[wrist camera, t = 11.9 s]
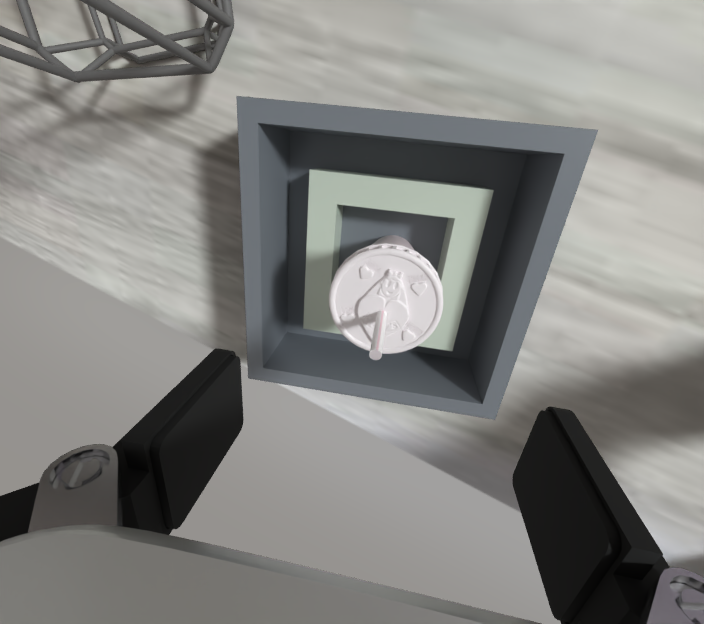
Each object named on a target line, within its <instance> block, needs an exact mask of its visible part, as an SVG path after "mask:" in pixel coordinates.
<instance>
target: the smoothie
mask: <svg viewBox="0 0 704 624" xmlns="http://www.w3.org/2000/svg"><path fill="white" fill-rule="evenodd" d="M329 308H330V312H331V316H332V318H333V321H334V323H335V325H336V326H337V328H338V329H339V331H340V332H341V333H342V334H343V335H344V336H345V337H346V338H347V339H348V340H349V341H350V342H352V343H353V344H355V345H356V346H358V347H360V348H362V349H365V350H368V351H370V353H369V356H370V358H371V359H373V360H379V359H380V358H381V357H382V353H383V354H392V353H399V352H403V351H407V350H410V349H412V348H414V347H416V346H418V345H419V344H421V343H422V342H424V341H425V340H426V339H427V338H428V337H429V336H430V335H431V334H432V333H433V331H434V330H435V329H436V327H437V325H438V323H439V321H440V318H441V315H442V311H443V288H442V284H441V281H440V279H439V276H438V273H437V272H436V270H435V269H434V267H433V266H432V265H431V263H430V262H429V261H428V260H427V259H426V258H424V257H423V256H422V255H421V254H419V253H418V252H417V251H415V250H414V249H413V247H412V246H411V244H410V243H409V242H408V241H407V240H406V239H404V238H402V237H400V236H396V235H388V236H384V237H381V238H380V239H378V240H377V241H376V242H374V243H373V244H372V245H370V246H367V247H365V248H362V249H360V250H357V251H356V252H355V253H353V254H352V255H351V256H349V257H348V258H347V259H345V261H344V262H343V263H342V265H341V266H340V267H339V268H338V270H337V271H336V274H335V277H334V279H333V282H332V284H331V288H330V292H329Z"/></svg>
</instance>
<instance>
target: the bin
mask: <svg viewBox="0 0 704 624" xmlns="http://www.w3.org/2000/svg"><path fill="white" fill-rule="evenodd" d="M237 119H238V143H239V167H240V191H241V215H242V239H243V263H244V287H245V311H246V335H247V359H248V378H250V379H255V380H262V381H268V382H273V383H279V384H285V385H291V386H297V387H303V388H309V389H315V390H321V391H327V392H333V393H339V394H345V395H351V396H357V397H363V398H369V399H374V400H380V401H386V402H392V403H398V404H404V405H410V406H416V407H422V408H428V409H434V410H440V411H446V412H452V413H458V414H464V415H470V416H476V417H482V418H487V419H493V420H495V418H496V416H497V413H498V410H499V407H500V404H501V401H502V399H503V396H504V393H505V390H506V387H507V385H508V382H509V379H510V376H511V373H512V371H513V368H514V365H515V362H516V359H517V357H518V354H519V351H520V348H521V345H522V342H523V340H524V337H525V334H526V331H527V328H528V326H529V323H530V320H531V317H532V314H533V312H534V309H535V306H536V303H537V300H538V298H539V295H540V292H541V289H542V286H543V283H544V281H545V278H546V275H547V272H548V269H549V267H550V264H551V261H552V258H553V255H554V253H555V250H556V247H557V244H558V241H559V239H560V236H561V233H562V230H563V227H564V224H565V222H566V219H567V216H568V213H569V210H570V208H571V205H572V202H573V199H574V196H575V194H576V191H577V188H578V185H579V182H580V180H581V177H582V174H583V171H584V168H585V165H586V163H587V160H588V157H589V154H590V151H591V149H592V146H593V143H594V140H595V137H596V135H597V132H598V130H593V129H583V128H572V127H561V126H551V125H540V124H529V123H519V122H508V121H497V120H487V119H476V118H465V117H455V116H444V115H434V114H423V113H412V112H402V111H391V110H380V109H370V108H359V107H348V106H338V105H327V104H316V103H306V102H295V101H285V100H274V99H263V98H253V97H242V96H237ZM388 235H396V236H400V237H402V238H404V239H406V240H407V241H408V242H409V243H410V244H411V246H412V247H413V249H414V250H415V251H417V252H418V253H419V254H421V255H422V256H423V257H424V258H426V259H427V260H428V261H429V262H430V263H431V265H432V266H433V267H434V269H435V270H436V272H437V273H438V276H439V279H440V281H441V284H442V288H443V311H442V315H441V318H440V321H439V323H438V325H437V327H436V329H435V330H434V331H433V333H432V334H431V335H430V336H429V337H428V338H427V339H426V340H425V341H424V342H422V343H421V344H419V345H418V346H416V347H414V348H412V349H410V350H407V351H403V352H399V353H392V354H383V353H382V357H381V358H380V359H379V360H373V359H371V358H370V356H369V353H370V351H368V350H365V349H362V348H360V347H358V346H356V345H355V344H353V343H352V342H350V341H349V340H348V339H347V338H346V337H345V336H344V335H343V334H342V333H341V332H340V331H339V329H338V328H337V326H336V325H335V323H334V321H333V318H332V316H331V312H330V308H329V292H330V288H331V284H332V282H333V279H334V277H335V274H336V271H337V270H338V268H339V267H340V266H341V265H342V263H343V262H344V261H345V259H347V258H348V257H349V256H351V255H352V254H353V253H355V252H356V251H357V250H360V249H362V248H365V247H367V246H370V245H372V244H373V243H374V242H376V241H377V240H378V239H380V238H381V237H384V236H388Z"/></svg>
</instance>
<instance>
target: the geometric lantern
mask: <svg viewBox="0 0 704 624" xmlns="http://www.w3.org/2000/svg"><path fill="white" fill-rule="evenodd" d="M16 1H17V4H18V7H19V10H20V13H21V16H22V19H23V22H24V25H25V28H26V30H27V33H28V36H29V38H28V37H26V36H24V35H21V34H19V33H16V32H14V31H12V30H9V29H7V28H5V27H2V26H0V36H1V37H4V38H6V39H8V40H11V41H13V42H16V43H18V44H21V45H23V46H26V47H28V48H31V49H33V50H35V51H36V52H37V53H38V54H39V55H40V56H42V57H43V58H44V59H45V60H46V61H44V60H41V59H39V58H36V57H33V56H31V55H28V54H25V53H22V52H20V51H17V50H14V49H12V48H9V47H6V46H3V45H1V44H0V56H2V57H5V58H8V59H11V60H13V61H16V62H19V63H22V64H25V65H28V66H31V67H34V68H37V69H40V70H43V71H46V72H49V73H51V74H54V75H57V76H60V77H63V78H66V79H69V80H71V81H74V82H78V83H80V82H84V81H99V80H115V79H131V78H147V77H162V76H178V75H194V74H209V73H212V72H214V71H215V69H216V68H217V66H218V64H219V62H220V59H221V57H222V55H223V52H224V50H225V48H226V45H227V43H228V41H229V38H230V36H231V33H232V31H233V28H234V18H233V10H232V2H231V0H216V4H217V6H215V5H214V4H212V3H211V0H188V1H190V2H191V3H192V4H194V5H195V6H197V7H198V8H200V9H201V10H203V11H204V12H206V13H207V14H208V19H207V21H206V24H205V26H204V27H202V28H197V29H193V30H188V31H184V32H179V33H174V34H170V35H163V34H162V33H160V32H158V31H157V30H155V29H154V28H152V27H151V26H149V25H147V24H146V23H144V22H143V21H141V20H139V19H138V18H136V17H135V16H133V15H131V14H130V13H128V12H127V11H125V10H123V9H122V8H120V7H119V6H117V5H115V4H114V3H112V2H111V1H109V0H81V1H82V2H84V3H86V4H87V5H88V8H89V10H90V13H91V16H92V19H93V22H94V25H95V27H96V30H97V33H98V36H99V38H98V39H92V40H86V41H80V42H73V43H67V44H61V45H55V46H49V47H43V46H42V43H41V40H40V37H39V34H38V31H37V28H36V25H35V22H34V19H33V16H32V13H31V10H30V7H29V4H28V1H27V0H16ZM96 10H98V11H100V12H101V13H103V14H105V15H107V16H108V17H109V20H110V24H111V27H112V30H113V33H114V36H115V39H116V42H117V43H115V42H113V41H112V40H110V39H108V38H106V37H105V35H104V32H103V29H102V26H101V23H100V21H99V18H98V15H97V12H96ZM116 21H117V22H119V23H121V24H122V25H124V26H126V27H128V28H129V29H131V30H133V31H135V32H136V33H138V34H140V35H141V36H143V37H145V38H147V40H142V41H137V42H133V43H128V44H123V43H122V40H121V36H120V33H119V30H118V27H117V24H116ZM214 22H216V23H219V24H220V28H219V32H218V35H216V34H215V33H213V32H211V31H210V30H211V27H212V25H213V23H214ZM201 35H204V42H205V43H201V44H197V45H192V46H187V47H182V46H181V45H179V44H178V43H176V42H174V41H178V40H182V39H187V38H192V37H197V36H201ZM210 38H211V39H213V40H215V41H210ZM101 45H104V46H106V47H107V48H108V50H107V51H106V52H104V53H103V54H102V55H101V56H99V57H98V58H97V59H96V60H94V61H93V62H92V63H91V64H89V65H88V66H87V67H86V68H84V69H83V70H82V71H75V72H73V71H72V70H71V69H69V68H68V67H67V66H65V65H64V64H63V63H62V62H61V61H59V60H58V59H57V58H56V57H54V56H53V55H52V54H54V53H60V52H66V51H71V50H77V49H83V48H89V47H95V46H101ZM154 45H159V46H161V47H162V48H164V49H166V50H168V51H164V52H159V53H155V54H150V55H145V56H141V57H138V56H137V55H135V54H132V53H130V52H127V51H131V50H135V49H140V48H145V47H150V46H154ZM211 48H214V49H213V51H212V49H211ZM201 50H206V59H207V62H206V61H205V60H203V59H202V58H200V57H198V56H197V55H195V54H194V53H192V52H196V51H201ZM115 54H118V55H121V56H124V57H126V58H129V59H131V60H133V61H135V62H136V63H138V64H141V63H144V62H148V61H153V60H158V59H163V58H167V57H172V56H178V57H180V58H182V59H183V60H185V61H187V62H189V63H191V64H180V65H165V66H150V67H135V68H120V69H105V70H96V69H97V68H99V67H100V66H101V65H102V64H103V63H105V62H106V61H107V60H108V59H110V58H111V57H112V56H113V55H115ZM47 61H48V62H47Z"/></svg>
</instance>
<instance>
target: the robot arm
mask: <svg viewBox="0 0 704 624" xmlns="http://www.w3.org/2000/svg"><path fill="white" fill-rule="evenodd" d="M240 367H241V366H240V358H239V357H237V356H236V355H235V352H233V351H229V350H223V349H214V350H213V351H212V352H211V353H210V354H209V355H208V356H207V357H206V358H205V359H204V360H203V361H202V362H201V363H200V364H199V365H198V366H197V367H196V368H195V369H193V370H192V371H191V372H190V373H189V374H188V375H187V376H186V377H185V378H184V379H183V380H182V381H181V382H180V383H179V384H178V385H177V386H176V387H175V388H173V389H172V390H171V391H170V392H169V393H168V394H167V395H166V396H165V397H164V398H163V399H162V400H161V401H160V402H159V403H158V404H157V405H156V406H155V407H154V408H153V409H152V410H151V411H150V412H149V413H148V414H146V415H145V416H144V417H143V418H142V419H141V420H140V421H139V422H138V423H137V424H136V425H135V426H134V427H133V428H132V429H131V430H130V431H129V432H128V433H127V434H126V435H125V436H124V437H123V438H122V439H121V440H120V441H118V442H117V443H116V444H115V445H114V446H113V447H111V446H107V445H104V444H93V445H87V446H83V447H80V448H77V449H74V450H72V451H70V452H68V453H66V454H64V455H62V456H60V457H59V458H58V459H57V460H55V461H54V462H53V463H51V464H50V466H49V467H48V468H47V469H46V470H45V471H44V473H43V475H42V477H41V479H40V482H39V483H37V484H34V485H31V486H28V487H25V488H22V489H19V490H16V491H13V492H11V493H8V494H5V495H2V496H0V624H540V623H537V622H533V621H529V620H525V619H521V618H516V617H513V616H509V615H504V614H501V613H497V612H493V611H488V610H485V609H480V608H476V607H472V606H468V605H464V604H460V603H456V602H451V601H448V600H443V599H440V598H435V597H431V596H427V595H423V594H419V593H415V592H411V591H407V590H403V589H398V588H394V587H390V586H386V585H382V584H378V583H373V582H369V581H365V580H361V579H357V578H352V577H348V576H344V575H340V574H336V573H332V572H327V571H323V570H319V569H315V568H310V567H306V566H302V565H298V564H293V563H289V562H285V561H281V560H277V559H272V558H268V557H263V556H259V555H255V554H251V553H246V552H242V551H238V550H233V549H229V548H225V547H221V546H217V545H212V544H208V543H203V542H198V541H194V540H189V539H184V538H179V537H175V536H170V535H169V534H170V533H171V531H172V529H177V528H178V527H180V526H181V524H182V523H183V521H184V520H185V518H186V517H187V515H188V513H189V512H190V510H191V509H192V507H193V506H194V504H195V502H196V501H197V499H198V498H199V496H200V495H201V493H202V491H203V490H204V488H205V487H206V485H207V483H208V482H209V480H210V479H211V477H212V475H213V474H214V472H215V471H216V469H217V467H218V466H219V464H220V463H221V461H222V460H223V458H224V456H225V455H226V453H227V452H228V450H229V448H230V447H231V445H232V444H233V442H234V440H235V439H236V437H237V436H238V434H239V433H240V431H241V428H242V425H243V406H242V386H241V368H240ZM513 487H514V491H515V494H516V497H517V500H518V504H519V507H520V510H521V513H522V517H523V519H524V523H525V526H526V529H527V533H528V536H529V539H530V543H531V546H532V549H533V552H534V555H535V559H536V562H537V565H538V569H539V572H540V575H541V578H542V582H543V585H544V588H545V591H546V595H547V598H548V601H549V605H550V608H551V611H552V613H553V615H554V617H555V618H556V619H557V620H560V621H561V624H704V578H703V577H702V576H700V575H698V574H696V573H694V572H691V571H688V570H686V569H683V568H676V567H671V568H670V567H669V566H668V564H667V562H666V561H665V559H664V558H663V556H662V555H663V553H662V552H661V550H660V549H659V547H658V545H657V544H656V542H655V541H654V539H653V537H652V536H651V534H650V533H649V531H648V530H647V528H646V526H645V525H644V523H643V522H642V520H641V519H640V517H639V515H638V514H637V512H636V511H635V509H634V507H633V506H632V504H631V503H630V501H629V500H628V498H627V496H626V495H625V493H624V492H623V490H622V488H621V487H620V485H619V484H618V482H617V481H616V479H615V477H614V476H613V474H612V473H611V471H610V469H609V468H608V466H607V465H606V463H605V462H604V460H603V458H602V457H601V455H600V454H599V452H598V451H597V449H596V447H595V446H594V444H593V443H592V441H591V439H590V438H589V436H588V435H587V433H586V432H585V430H584V428H583V427H582V425H581V424H580V422H579V420H578V419H577V417H576V416H575V414H574V413H573V412H572V411H570V410H566V409H560V408H555V407H548V408H547V409H546V410H545V411H543V410H542V411H540V412H539V414H538V416H537V419H536V421H535V424H534V426H533V428H532V431H531V433H530V435H529V438H528V440H527V443H526V445H525V447H524V450H523V452H522V454H521V457H520V459H519V461H518V464H517V466H516V469H515V471H514V474H513Z"/></svg>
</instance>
